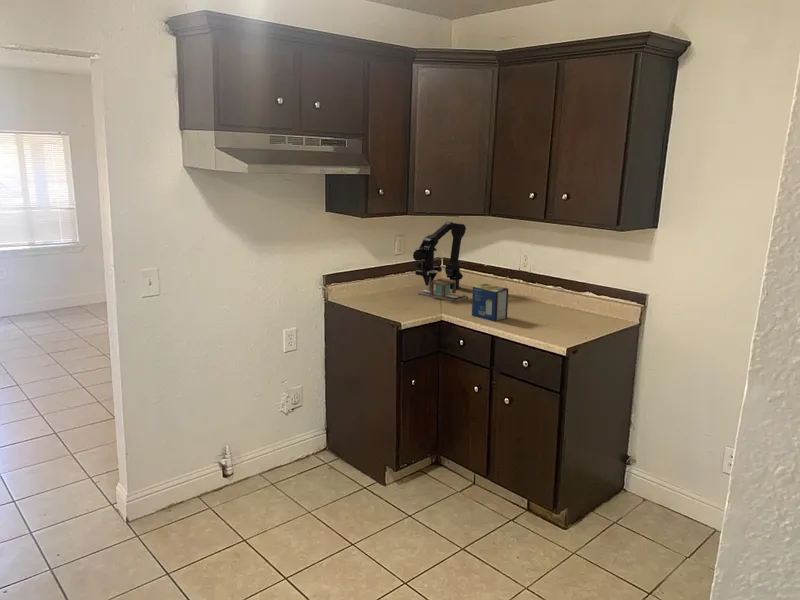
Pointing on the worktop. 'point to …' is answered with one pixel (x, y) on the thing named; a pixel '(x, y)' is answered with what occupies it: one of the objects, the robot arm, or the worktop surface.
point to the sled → (453, 295)
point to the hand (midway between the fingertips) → (428, 285)
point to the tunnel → (443, 290)
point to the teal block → (439, 289)
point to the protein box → (490, 302)
